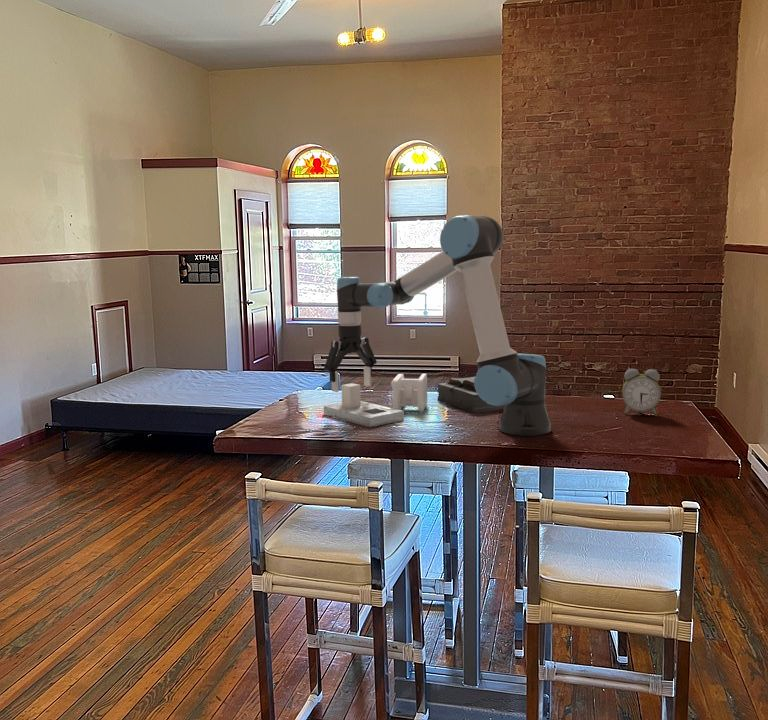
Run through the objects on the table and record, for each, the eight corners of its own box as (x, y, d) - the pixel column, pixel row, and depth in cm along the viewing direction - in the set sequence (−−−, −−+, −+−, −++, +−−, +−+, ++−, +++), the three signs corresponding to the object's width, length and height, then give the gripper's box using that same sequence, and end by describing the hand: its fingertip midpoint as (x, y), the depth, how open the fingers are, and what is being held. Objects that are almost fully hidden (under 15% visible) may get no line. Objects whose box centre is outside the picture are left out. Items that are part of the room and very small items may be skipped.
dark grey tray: (459, 415, 241) (460, 385, 240) (433, 399, 267) (433, 372, 265) (524, 410, 247) (525, 381, 245) (492, 395, 273) (493, 369, 271)
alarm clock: (621, 415, 235) (623, 369, 233) (621, 411, 242) (622, 366, 239) (660, 417, 232) (662, 370, 229) (659, 413, 238) (660, 367, 236)
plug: (360, 414, 242) (360, 384, 241) (350, 416, 239) (349, 386, 238) (350, 411, 247) (349, 382, 245) (340, 414, 244) (339, 384, 242)
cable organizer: (422, 414, 241) (422, 380, 239) (391, 414, 242) (390, 379, 241) (427, 405, 255) (427, 372, 254) (397, 404, 257) (397, 372, 255)
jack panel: (403, 419, 234) (403, 410, 233) (370, 427, 225) (370, 417, 224) (356, 408, 252) (356, 399, 251) (323, 414, 243) (323, 405, 242)
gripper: (371, 320, 249) (373, 382, 252) (311, 327, 233) (314, 392, 236) (386, 322, 243) (387, 384, 246) (325, 328, 227) (328, 395, 230)
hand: (351, 388), depth 241 cm, fingers open, 13 cm apart
